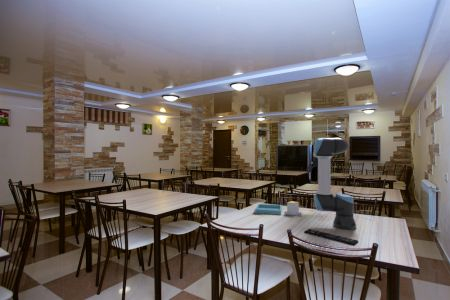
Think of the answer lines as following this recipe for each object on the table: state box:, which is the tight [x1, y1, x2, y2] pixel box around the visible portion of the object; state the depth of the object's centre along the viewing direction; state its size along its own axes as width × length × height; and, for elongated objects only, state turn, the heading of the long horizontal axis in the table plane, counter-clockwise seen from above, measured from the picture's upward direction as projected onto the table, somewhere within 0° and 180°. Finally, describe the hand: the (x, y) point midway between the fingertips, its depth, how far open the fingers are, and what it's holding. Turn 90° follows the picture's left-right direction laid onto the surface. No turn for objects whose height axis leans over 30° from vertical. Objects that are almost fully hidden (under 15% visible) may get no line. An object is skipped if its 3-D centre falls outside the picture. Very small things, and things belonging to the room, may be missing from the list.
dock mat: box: [284, 210, 303, 217], centre depth 218 cm, size 14×14×1 cm
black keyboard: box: [303, 228, 359, 246], centre depth 163 cm, size 8×32×2 cm, turn 44°
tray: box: [254, 203, 283, 216], centre depth 229 cm, size 22×22×4 cm
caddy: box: [286, 200, 300, 215], centre depth 218 cm, size 7×7×10 cm
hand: (317, 179), depth 236 cm, fingers open, 13 cm apart
